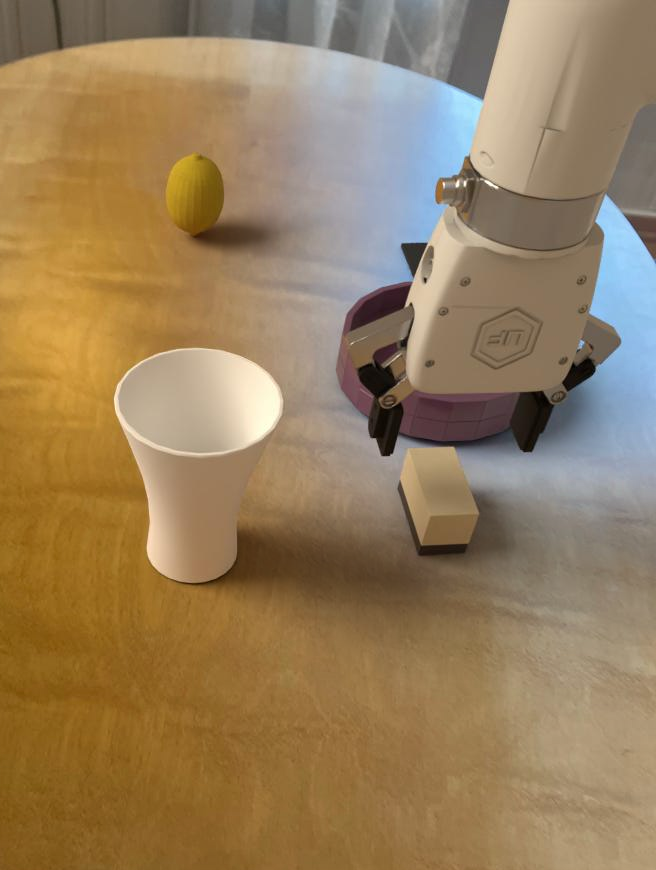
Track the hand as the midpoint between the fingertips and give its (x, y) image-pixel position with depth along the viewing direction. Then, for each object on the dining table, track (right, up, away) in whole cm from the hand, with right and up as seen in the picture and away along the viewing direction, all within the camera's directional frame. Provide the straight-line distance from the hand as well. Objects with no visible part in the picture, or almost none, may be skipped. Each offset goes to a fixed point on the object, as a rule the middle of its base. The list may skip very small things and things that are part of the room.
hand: (451, 441), depth 69 cm
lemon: (-17, +26, +30) cm, 43 cm away
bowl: (+3, +8, +16) cm, 18 cm away
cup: (-18, -7, +4) cm, 19 cm away
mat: (+9, +21, +27) cm, 35 cm away
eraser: (0, -5, +6) cm, 8 cm away
